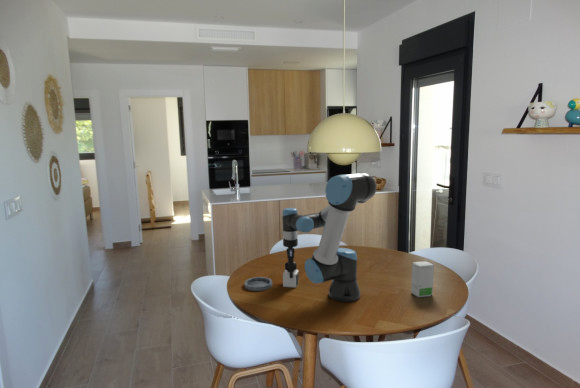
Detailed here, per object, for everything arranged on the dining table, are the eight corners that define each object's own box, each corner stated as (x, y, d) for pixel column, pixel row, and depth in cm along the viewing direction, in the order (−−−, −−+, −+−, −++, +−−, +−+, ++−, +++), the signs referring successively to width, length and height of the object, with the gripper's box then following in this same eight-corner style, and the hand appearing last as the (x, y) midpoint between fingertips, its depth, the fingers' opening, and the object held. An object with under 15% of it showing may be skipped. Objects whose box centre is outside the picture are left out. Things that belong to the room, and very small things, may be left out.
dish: (277, 285, 210) (277, 281, 209) (257, 293, 200) (257, 289, 199) (259, 278, 219) (259, 275, 219) (239, 286, 209) (239, 282, 209)
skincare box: (417, 297, 191) (419, 266, 189) (410, 292, 197) (411, 262, 195) (433, 295, 193) (434, 264, 191) (425, 290, 200) (426, 260, 197)
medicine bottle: (296, 287, 206) (296, 265, 204) (282, 286, 207) (282, 264, 205) (299, 282, 213) (298, 260, 211) (285, 281, 214) (285, 260, 212)
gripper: (282, 232, 217) (283, 272, 220) (283, 244, 195) (284, 288, 198) (296, 232, 217) (297, 272, 221) (298, 244, 195) (299, 288, 199)
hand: (291, 279), depth 210 cm, fingers open, 10 cm apart
